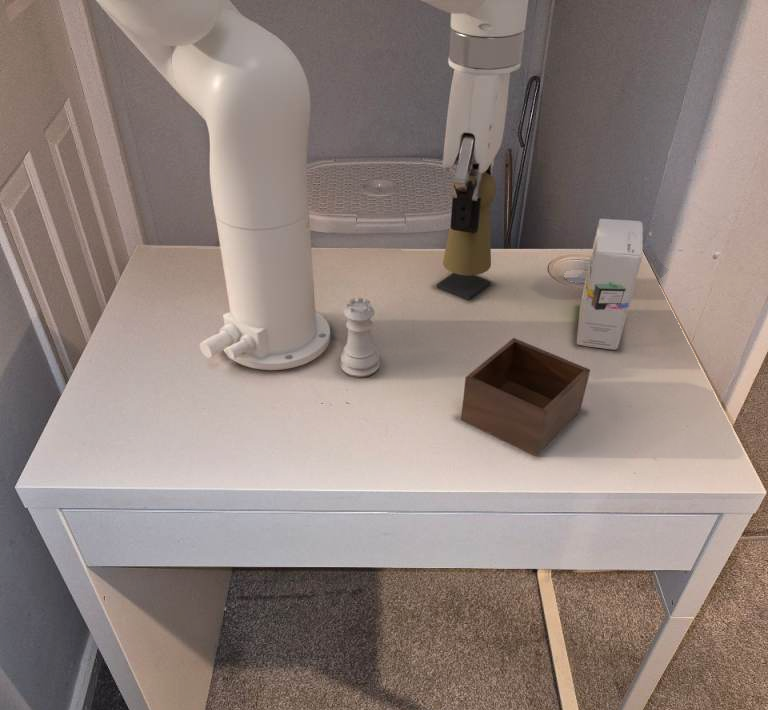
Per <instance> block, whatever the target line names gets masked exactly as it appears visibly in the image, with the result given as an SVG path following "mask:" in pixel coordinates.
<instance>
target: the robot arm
mask: <svg viewBox="0 0 768 710" xmlns="http://www.w3.org/2000/svg"><path fill="white" fill-rule="evenodd" d="M420 1H421V2H423V3H425V4H427V5H429V6H432V7H434V8H436V9H438V10H440V11H443V12H445V13H448V14H450V27H449V43H448V59H447V64H448V66H449V67H450V68H452V69H454V71H453V74H452V81H451V86H450V92H449V99H448V107H447V115H446V123H445V124H446V125H445V135H444V145H443V154H442V155H443V156H442V167H443V168H444V170H445V171H449V170H450V169H453V167H454V166H455V165H456V168H455V172H454V173H455V174H454V178H453V180H454V190H453V198H452V199H451V200H452V201H451V202H452V203H451V214H450V225H451V229H452V230H456V231H462V232H469V233H476V232H477V230H478V225H479V215H480V205H481V198H478V196H479V190H480V183H481V177H482V173H484V172H486V173H488V174H490V175H491V176H492V177H493V173H494V167H495V165H494V164H495V158H496V156H497V154H498V152H499V150H500V148H501V146H502V143H503V138H504V132H505V125H506V119H507V110H508V109H507V108H508V99H509V88H510V79H511V73H513V72H515V71H518V70H519V69H520V68H521V65H522V57H523V49H524V42H525V41H524V40H525V31H526V23H527V16H528V6H529V0H420ZM95 2H96V3H97V4H98V5H99V6H100V7H101V9H102V10H103V11H104V12H105V13H106V14H107V15H108V17H109V18H110V19H111V20H112V21H113V22H114V24H115V25H116V26H117V27H118V28H119V29H120V30H121V31H122V33H124V35H125V36H126V37H127V38H128V39H129V41H131V42H132V44H133V45H134V46H135V47H136V48H137V49H138V50H139V52H141V54H142V55H143V56H144V57H145V58H146V59H147V60H148V62H150V64H151V65H152V66H153V67H154V69H156V71H158V72H159V74H160V75H161V76H162V77H163V78H164V79H165V80H166V81H167V82H168V84H169V85H170V86H171V87H172V88H173V89H174V90H175V91H176V92H177V94H178V95H179V96H180V97H181V98H182V99H183V100H184V101H185V102H186V103H188V104H189V105H190V106H191V107H192V108H193V109H194V110H195V111H196V112H197V113H198V114H199V116H200V117H201V118H202V119H203V120H204V121H205V124H206V127H207V130H208V137H209V183H210V191H211V192H210V193H211V199H212V203H213V204H212V205H213V210H214V211H213V212H214V217H215V222H216V229H217V234H218V242H219V248H220V254H221V261H222V268H223V273H224V280H225V287H226V293H227V299H228V306H229V311H228V312H226V313H224V314H223V315H222V317H223V323H224V324H223V326H221V327H220V328H219V332H218V333H216V334H213V335H211V336H209V337H208V338H206V339H204V340H203V341H201V342H199V350H200V351H201V354H203V356H204V357H205V358H207V359H212V358H214V357H215V356H216V355H219V354H220V353H222V352H224V354H225V355H226V356H227V358H228V359H230V360H232V361H234V362H235V363H238V364H239V365H242V366H243V367H247V368H250V369H255V370H261V371H280V370H281V371H283V370H287V369H293V368H296V367H300V366H304V365H306V364H308V363H310V362H312V361H314V360H315V359H317V358H319V357H321V355H322V354H323V353H324V352H325V351H326V350H327V348H328V347H329V345H330V342H331V327H330V324H329V322H328V320H327V319H326V318H325V316H323V315H322V314H321V313H319V312H318V311H316V301H315V284H314V283H315V282H314V267H313V251H312V235H311V222H310V207H309V205H310V204H309V191H308V190H309V189H308V188H309V187H308V143H309V142H308V141H309V131H310V123H311V122H310V121H311V108H312V107H311V106H312V105H311V92H310V87H309V82H308V79H307V77H306V73H305V70H304V68H303V66H302V65H301V63H300V60H298V58H297V56H296V55H295V53H294V52H293V50H292V49H290V47H289V46H288V45H287V44H286V43H285V42H284V41H283V40H282V39H280V38H279V37H278V36H277V35H275V34H273V33H272V32H270V31H269V30H267V29H266V28H264V27H263V26H261V25H260V24H259V23H256V22H255V21H253V20H251V19H249V18H247V16H244V15H243V14H242V13H241V12H240V11H239V10H238V8H236V6H235V5H234V4H233V2H232V1H231V0H95ZM469 175H471V176H475V180H474V187H473V183H472V181H469Z"/></svg>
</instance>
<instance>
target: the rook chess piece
mask: <svg viewBox="0 0 768 710" xmlns="http://www.w3.org/2000/svg"><path fill="white" fill-rule="evenodd" d="M375 313H376V312H375V309H374V307H373V306H372V303H371V301H370V300H369V299H368V298H366V299H364V297H359V296H358V297H357V301H356V299H355V298H354V297H352V298H350V299H349V301H347V303H346V307H345V308H344V309H343V315H344V316H345V317H346V319H347V321H346V323H345V326H346V328H347V339H346V344H345V345H344V348H343V349H342V351H341V353H340V359H339V360H340V363H339V366H340V368H341V370H342V371H343V373H345V374H347V375H348V376H350V377H353V378H359V379H361V378H367V377H370V376H372V375H374V374H375V373H376V372H377V371H378V370H379V368H380V365H381V362H380V354H379V352H378V350H377V348H376V346H375V344H374V343H373V338H372V327H373V322H372V320H371V319H372V318H373V316H374V315H375Z"/></svg>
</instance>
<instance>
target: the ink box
mask: <svg viewBox="0 0 768 710" xmlns="http://www.w3.org/2000/svg"><path fill="white" fill-rule="evenodd" d="M643 224H644V223H643V222H642V221H640V220H630V219H629V220H628V219H613V218H612V219H611V218H599V219H598V224H597V229H596V234H595V237H594V242H593V247H592V250H591V255H590V259H589V264H588V268H587V273H586V277H585V281H584V287H583V290H582V295H581V299H580V304H579V310H578V311H579V312H578V322H577V323H578V324H577V333H576V345H577V346H582V347H590V348H596V349H597V348H598V349H606V350H613V351H614V350H618V349H619V346H620V342H621V338H622V334H623V331H624V326H625V323H626V320H627V319H626V318H627V315H628V312H629V308H630V304H631V300H632V296H633V292H634V289H635V286H636V283H637V278H638V274H639V270H640V266H641V263H642V259H643V253H644V251H643V248H644V245H643V243H644V242H643V240H644V235H643V233H644V227H643V226H644V225H643Z"/></svg>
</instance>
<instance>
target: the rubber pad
mask: <svg viewBox="0 0 768 710" xmlns="http://www.w3.org/2000/svg"><path fill="white" fill-rule="evenodd" d="M491 284H492V281H491V280H488V279H486V278H483V277H482V276H481V277H480V276H478V275H470V276H467V275H459V274H455V273H451V274H450V275H448V276H447V277H445V278H444V279H442V280H441V281H440V282H438V283H436V288H437V289H439V290H441V291H444V292H446V293H449V294H452V295H454V296H456V297H459V298H461V299H464V300H466V301H470V300H472V299H474V297H476V296H478V295H479V294H480V293H482V292H483V291H484V290H486V289H487V288H488V287H490V286H491Z"/></svg>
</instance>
